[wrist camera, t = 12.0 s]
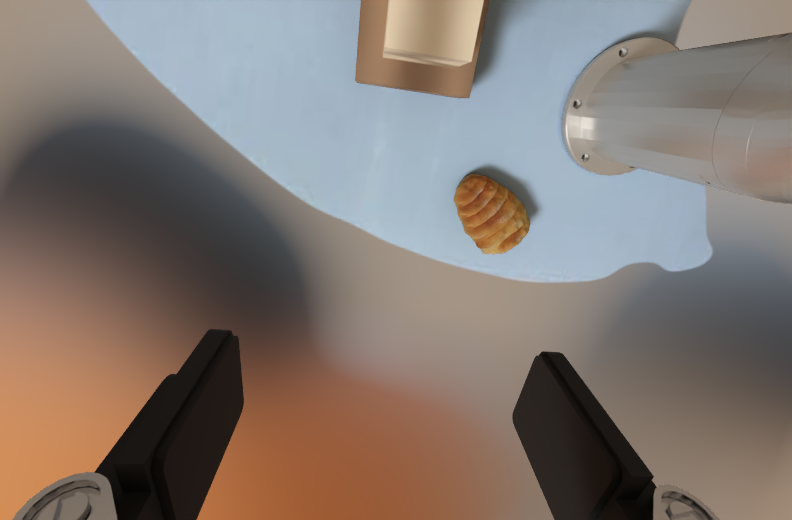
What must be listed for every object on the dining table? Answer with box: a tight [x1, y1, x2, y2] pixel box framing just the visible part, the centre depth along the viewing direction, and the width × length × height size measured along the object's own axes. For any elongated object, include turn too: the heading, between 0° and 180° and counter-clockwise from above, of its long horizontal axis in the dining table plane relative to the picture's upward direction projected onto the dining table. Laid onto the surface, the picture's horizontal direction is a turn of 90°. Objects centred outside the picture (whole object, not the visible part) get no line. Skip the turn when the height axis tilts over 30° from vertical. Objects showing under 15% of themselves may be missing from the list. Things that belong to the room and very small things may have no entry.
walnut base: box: [355, 0, 489, 98], centre depth 29 cm, size 10×10×4 cm
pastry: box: [454, 174, 530, 254], centre depth 37 cm, size 9×7×4 cm
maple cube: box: [383, 0, 484, 69], centre depth 24 cm, size 6×6×6 cm
